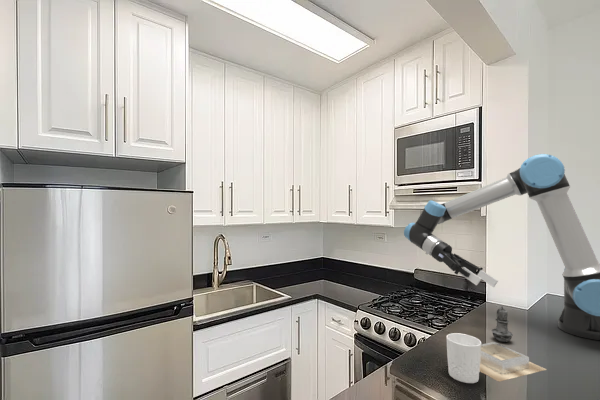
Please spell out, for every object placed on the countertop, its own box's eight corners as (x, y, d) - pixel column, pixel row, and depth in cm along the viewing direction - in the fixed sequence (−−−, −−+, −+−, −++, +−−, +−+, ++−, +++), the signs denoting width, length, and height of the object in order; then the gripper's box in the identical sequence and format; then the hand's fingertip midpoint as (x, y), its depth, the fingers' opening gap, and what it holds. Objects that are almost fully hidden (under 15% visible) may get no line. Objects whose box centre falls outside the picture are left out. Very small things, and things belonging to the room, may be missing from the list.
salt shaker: (516, 348, 98) (516, 309, 98) (495, 346, 99) (495, 308, 100) (508, 340, 104) (508, 304, 104) (488, 338, 105) (488, 302, 105)
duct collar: (494, 352, 93) (494, 341, 94) (528, 368, 84) (528, 357, 84) (469, 357, 90) (469, 346, 90) (502, 374, 81) (502, 362, 81)
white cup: (450, 367, 85) (450, 330, 86) (483, 378, 80) (484, 338, 81) (442, 379, 79) (442, 339, 80) (477, 391, 74) (478, 349, 75)
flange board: (497, 349, 97) (497, 347, 97) (546, 372, 84) (546, 369, 84) (452, 358, 90) (452, 356, 90) (498, 384, 77) (498, 381, 77)
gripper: (448, 259, 132) (496, 293, 116) (415, 253, 118) (464, 290, 101) (457, 244, 130) (507, 276, 114) (425, 236, 116) (477, 271, 99)
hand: (487, 283), depth 108 cm, fingers open, 13 cm apart
